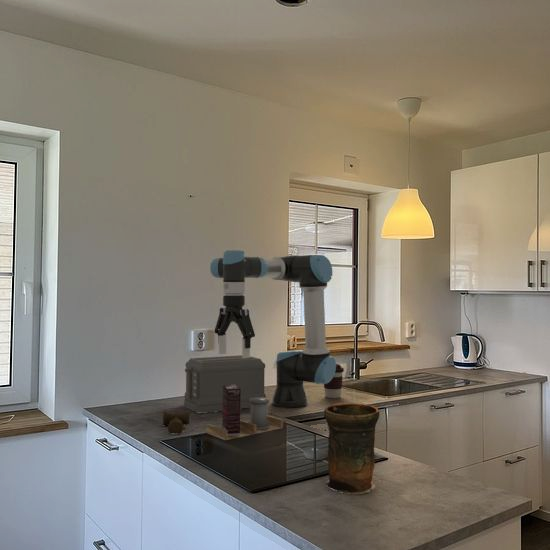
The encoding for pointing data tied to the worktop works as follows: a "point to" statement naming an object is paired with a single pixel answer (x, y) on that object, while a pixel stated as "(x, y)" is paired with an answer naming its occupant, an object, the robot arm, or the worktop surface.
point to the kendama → (175, 420)
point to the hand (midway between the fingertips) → (234, 355)
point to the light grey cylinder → (259, 412)
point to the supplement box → (231, 409)
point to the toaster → (222, 381)
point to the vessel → (351, 447)
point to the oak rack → (245, 428)
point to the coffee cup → (335, 384)
